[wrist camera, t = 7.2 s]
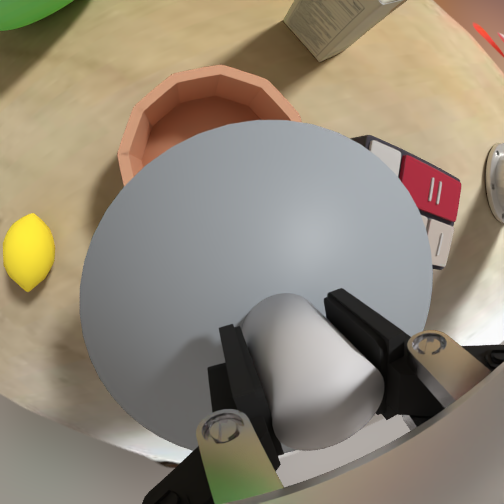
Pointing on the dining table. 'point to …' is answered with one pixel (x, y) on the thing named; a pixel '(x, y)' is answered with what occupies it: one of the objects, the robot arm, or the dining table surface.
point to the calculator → (423, 193)
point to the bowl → (196, 111)
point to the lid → (252, 277)
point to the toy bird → (27, 11)
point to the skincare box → (335, 22)
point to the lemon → (28, 251)
